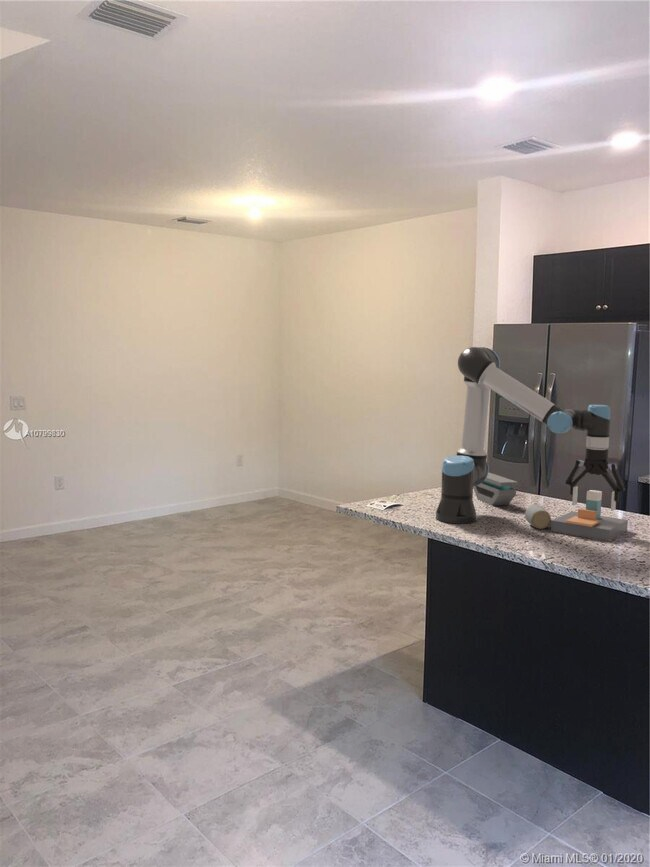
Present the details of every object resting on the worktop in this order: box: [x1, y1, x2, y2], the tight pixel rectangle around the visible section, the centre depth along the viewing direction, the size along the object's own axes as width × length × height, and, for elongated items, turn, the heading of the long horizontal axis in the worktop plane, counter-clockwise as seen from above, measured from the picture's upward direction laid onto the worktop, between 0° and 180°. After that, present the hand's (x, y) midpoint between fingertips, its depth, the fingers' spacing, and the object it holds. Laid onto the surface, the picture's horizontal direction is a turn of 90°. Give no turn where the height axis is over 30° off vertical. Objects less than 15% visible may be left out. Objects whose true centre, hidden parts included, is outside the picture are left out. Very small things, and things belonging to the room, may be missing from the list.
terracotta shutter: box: [566, 508, 601, 527], centre depth 243 cm, size 9×9×4 cm
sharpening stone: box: [473, 472, 519, 506], centre depth 295 cm, size 25×8×11 cm, turn 16°
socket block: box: [550, 510, 629, 542], centre depth 248 cm, size 20×20×4 cm
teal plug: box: [585, 489, 603, 520], centre depth 250 cm, size 4×4×14 cm
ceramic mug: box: [524, 504, 553, 530], centre depth 253 cm, size 11×8×8 cm
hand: (593, 507), depth 250 cm, fingers open, 13 cm apart
